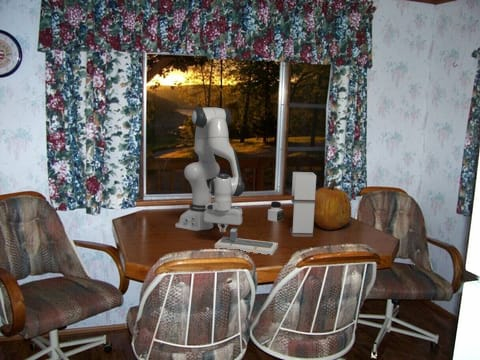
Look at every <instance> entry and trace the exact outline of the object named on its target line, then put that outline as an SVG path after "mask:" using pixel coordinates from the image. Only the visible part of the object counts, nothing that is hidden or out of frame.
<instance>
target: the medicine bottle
mask: <svg viewBox="0 0 480 360" xmlns="http://www.w3.org/2000/svg"><path fill="white" fill-rule="evenodd" d="M270 203H271V204H270V209H269V208H268V210H267V221H271V222H275V223H278V222H281V221H283V219H284V209H282V208H281V207H282V202H280V201H278V200H273V201H271V202H270Z"/></svg>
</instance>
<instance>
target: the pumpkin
mask: <svg viewBox="0 0 480 360" xmlns="http://www.w3.org/2000/svg"><path fill="white" fill-rule="evenodd" d="M335 184H336V178H334V179H332V180H331V182H330V183H329V186H328V187H321V188H320V187H319V189H317V190H315V206H314V223H315V224H316V225H317V226H318V227H319V228H321V229H323V230H327V231H331V230H338V229H340V228H342V227H344V226H346V225H347V224H348V223H349V222H350V221H351V218H352V203H351V200H350V197H349V195H348V194H347V193H346V191H344V190H342V189H340V188H337V187H335Z"/></svg>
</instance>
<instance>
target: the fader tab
mask: <svg viewBox="0 0 480 360" xmlns="http://www.w3.org/2000/svg"><path fill="white" fill-rule="evenodd" d="M238 229H239V228H238V227H232V228H231V229H230V233H229V234H230V236H229V237H230V240H229V241H236V242H238V239H237V238H238Z"/></svg>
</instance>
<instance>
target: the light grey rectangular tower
mask: <svg viewBox="0 0 480 360" xmlns="http://www.w3.org/2000/svg"><path fill="white" fill-rule="evenodd" d="M316 184H317V175H316V174H315V173H314V172H312V171H311V172H310V171H309V172H308V171H307V172H304V171H303V172H302V171H292V185H291V198H290V199H291V203H292V204H293V214H292V215H293V216H292V218H293V219H292V227H289V232H290V234H291V237H303V238H305V237H307V238H309V237H312V238H313V237H314V223H315V221H314V206H315V192H316V188H317V185H316Z"/></svg>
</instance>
